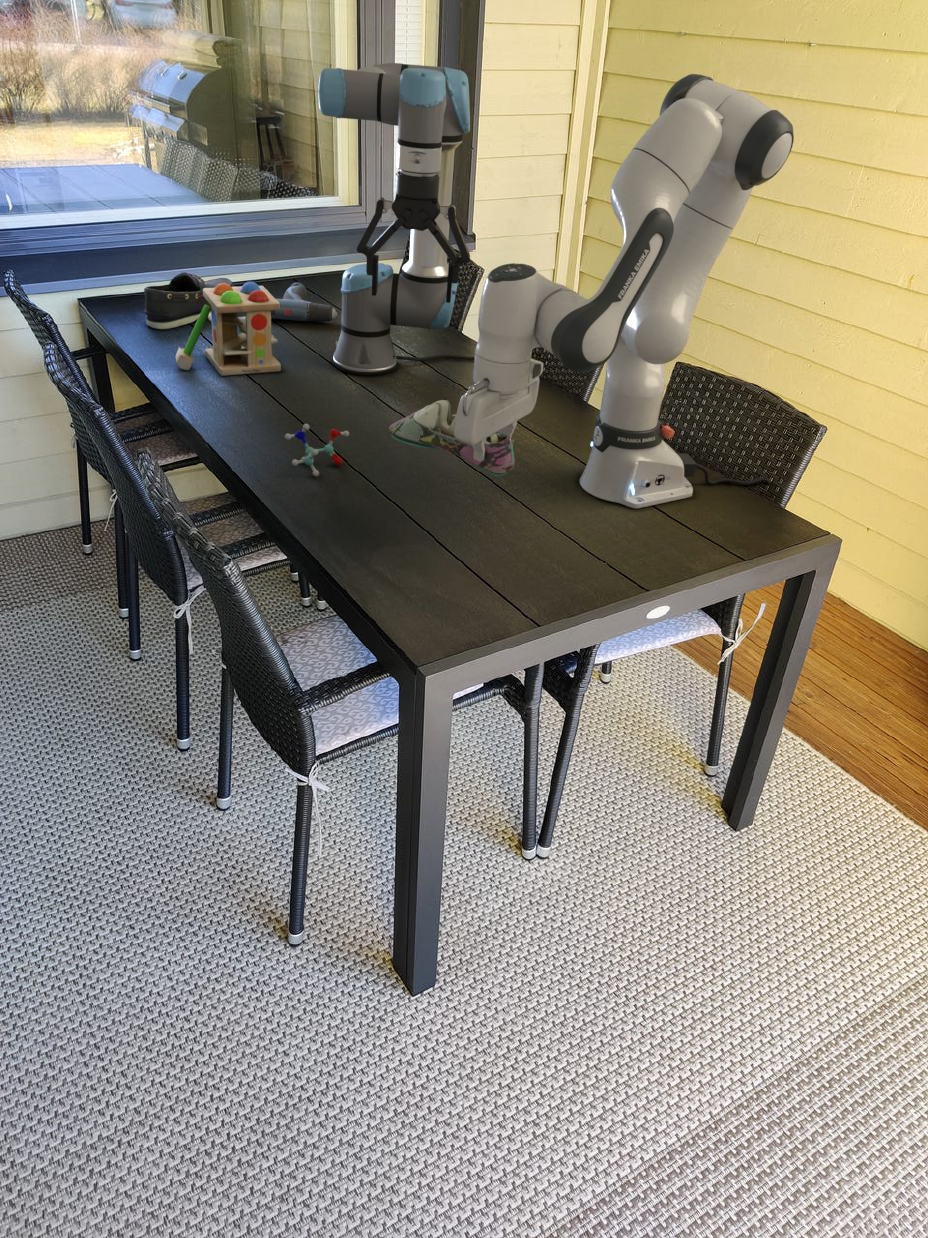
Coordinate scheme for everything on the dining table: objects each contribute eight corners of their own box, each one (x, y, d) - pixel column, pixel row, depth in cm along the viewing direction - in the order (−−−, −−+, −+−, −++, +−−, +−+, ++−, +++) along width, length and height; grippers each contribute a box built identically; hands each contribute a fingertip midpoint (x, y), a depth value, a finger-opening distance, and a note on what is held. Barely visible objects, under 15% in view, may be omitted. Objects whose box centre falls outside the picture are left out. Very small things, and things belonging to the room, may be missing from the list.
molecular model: (334, 468, 182) (316, 416, 180) (292, 484, 185) (274, 433, 184) (360, 462, 192) (343, 413, 191) (320, 477, 196) (303, 429, 194)
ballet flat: (408, 425, 176) (411, 379, 171) (524, 468, 166) (531, 421, 161) (380, 439, 170) (382, 392, 165) (498, 485, 160) (504, 436, 155)
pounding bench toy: (183, 379, 220) (176, 299, 210) (169, 357, 231) (162, 280, 221) (282, 371, 230) (280, 294, 220) (264, 350, 240) (262, 276, 230)
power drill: (344, 304, 276) (335, 327, 259) (277, 298, 275) (264, 321, 258) (344, 285, 273) (335, 306, 256) (277, 279, 272) (264, 300, 255)
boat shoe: (255, 307, 269) (253, 268, 263) (164, 331, 245) (159, 289, 239) (221, 298, 274) (218, 260, 269) (128, 321, 250) (123, 279, 245)
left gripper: (342, 168, 165) (340, 296, 177) (490, 183, 165) (478, 309, 177) (348, 161, 171) (346, 284, 183) (490, 175, 171) (479, 297, 183)
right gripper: (483, 394, 146) (474, 478, 154) (549, 361, 161) (538, 439, 169) (448, 383, 149) (441, 466, 157) (516, 351, 164) (506, 428, 171)
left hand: (411, 297), depth 180 cm, fingers open, 13 cm apart
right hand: (492, 452), depth 163 cm, fingers closed on ballet flat, 6 cm apart
